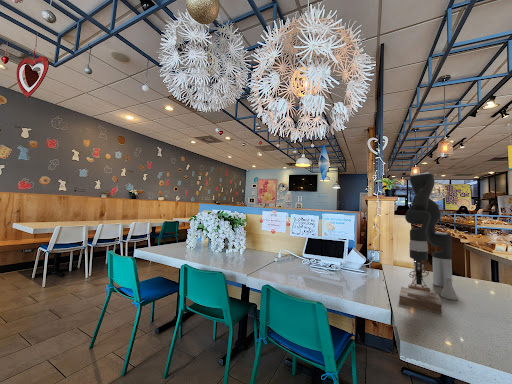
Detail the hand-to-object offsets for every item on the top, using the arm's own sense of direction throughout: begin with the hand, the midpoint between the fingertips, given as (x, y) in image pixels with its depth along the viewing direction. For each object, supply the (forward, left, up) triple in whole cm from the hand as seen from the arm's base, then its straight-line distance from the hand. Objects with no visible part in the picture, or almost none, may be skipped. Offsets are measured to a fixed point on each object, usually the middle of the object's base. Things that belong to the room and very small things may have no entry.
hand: (419, 284), depth 110 cm
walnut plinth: (0, 0, -9) cm, 9 cm away
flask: (-20, +13, -10) cm, 26 cm away
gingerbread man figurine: (0, 0, -3) cm, 3 cm away
